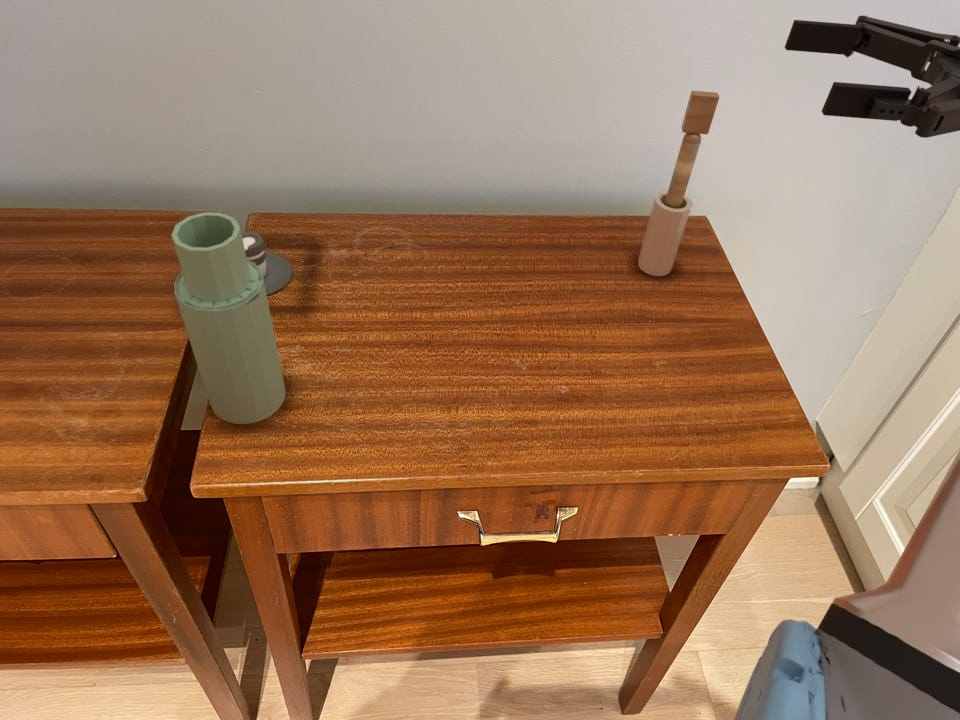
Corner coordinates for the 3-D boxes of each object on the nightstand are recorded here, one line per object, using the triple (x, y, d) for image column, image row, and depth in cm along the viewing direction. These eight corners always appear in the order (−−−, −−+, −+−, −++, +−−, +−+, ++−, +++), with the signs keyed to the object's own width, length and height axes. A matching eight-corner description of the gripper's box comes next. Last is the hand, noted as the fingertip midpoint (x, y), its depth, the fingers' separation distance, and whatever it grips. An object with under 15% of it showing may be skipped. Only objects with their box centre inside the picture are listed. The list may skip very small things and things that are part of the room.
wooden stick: (667, 267, 85) (720, 99, 70) (645, 266, 85) (693, 96, 70) (665, 258, 86) (717, 90, 71) (643, 256, 86) (690, 88, 71)
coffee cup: (314, 243, 85) (310, 207, 82) (303, 312, 77) (297, 276, 73) (209, 241, 84) (200, 205, 81) (186, 312, 76) (175, 275, 72)
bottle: (253, 435, 65) (209, 270, 52) (194, 405, 67) (137, 239, 54) (300, 387, 70) (271, 222, 56) (244, 360, 72) (202, 195, 58)
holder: (665, 280, 84) (686, 215, 78) (633, 268, 85) (650, 204, 79) (675, 262, 87) (696, 197, 80) (644, 251, 88) (662, 186, 81)
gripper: (1075, 190, 63) (829, 171, 62) (957, 63, 80) (764, 48, 80) (1136, 108, 57) (868, 87, 57) (996, -9, 74) (790, -25, 74)
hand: (807, 64), depth 68 cm, fingers open, 13 cm apart
